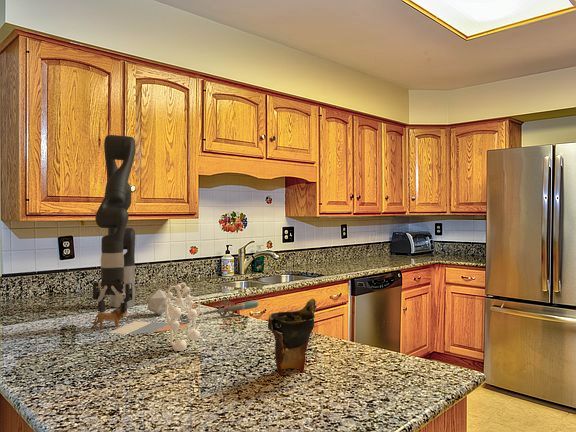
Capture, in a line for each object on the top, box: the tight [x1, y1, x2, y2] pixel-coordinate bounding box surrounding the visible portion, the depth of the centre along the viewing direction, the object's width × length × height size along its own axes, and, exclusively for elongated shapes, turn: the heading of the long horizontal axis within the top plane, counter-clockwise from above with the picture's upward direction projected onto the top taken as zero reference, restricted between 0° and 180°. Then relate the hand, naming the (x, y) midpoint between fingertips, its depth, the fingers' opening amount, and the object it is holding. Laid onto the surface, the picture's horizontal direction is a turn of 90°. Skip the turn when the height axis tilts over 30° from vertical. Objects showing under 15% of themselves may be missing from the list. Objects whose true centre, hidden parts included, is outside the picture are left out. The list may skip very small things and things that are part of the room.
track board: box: [89, 320, 189, 335], centre depth 159 cm, size 28×16×1 cm, turn 78°
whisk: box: [179, 299, 259, 323], centre depth 176 cm, size 11×32×7 cm, turn 123°
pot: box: [267, 298, 317, 376], centre depth 113 cm, size 17×11×18 cm, turn 141°
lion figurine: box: [90, 306, 128, 330], centre depth 161 cm, size 12×4×7 cm, turn 120°
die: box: [147, 289, 172, 316], centre depth 180 cm, size 8×9×10 cm
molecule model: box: [164, 282, 205, 352], centre depth 133 cm, size 19×14×4 cm
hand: (112, 312), depth 161 cm, fingers open, 7 cm apart
